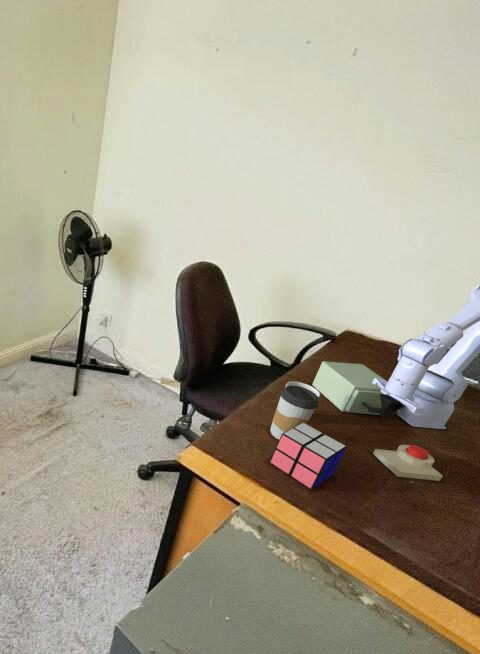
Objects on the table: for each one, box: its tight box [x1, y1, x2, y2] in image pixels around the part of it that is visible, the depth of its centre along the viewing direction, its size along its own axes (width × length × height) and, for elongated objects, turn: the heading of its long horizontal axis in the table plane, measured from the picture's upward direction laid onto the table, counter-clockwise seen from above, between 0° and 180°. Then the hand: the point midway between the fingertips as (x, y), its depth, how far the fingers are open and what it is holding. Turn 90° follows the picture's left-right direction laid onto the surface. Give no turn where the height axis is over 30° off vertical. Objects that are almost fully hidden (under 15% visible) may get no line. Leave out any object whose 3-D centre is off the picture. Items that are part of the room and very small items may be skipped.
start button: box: [407, 444, 430, 460], centre depth 107 cm, size 4×4×2 cm
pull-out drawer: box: [346, 389, 398, 416], centre depth 129 cm, size 18×11×8 cm, turn 173°
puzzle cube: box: [269, 423, 348, 490], centre depth 104 cm, size 10×10×10 cm
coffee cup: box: [269, 385, 319, 440], centre depth 114 cm, size 8×8×15 cm
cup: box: [284, 380, 321, 399], centre depth 124 cm, size 8×8×10 cm
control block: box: [372, 444, 444, 482], centre depth 107 cm, size 11×9×4 cm
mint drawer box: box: [311, 361, 387, 416], centre depth 132 cm, size 15×13×10 cm
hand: (384, 417), depth 121 cm, fingers closed, pressing on pull-out drawer
